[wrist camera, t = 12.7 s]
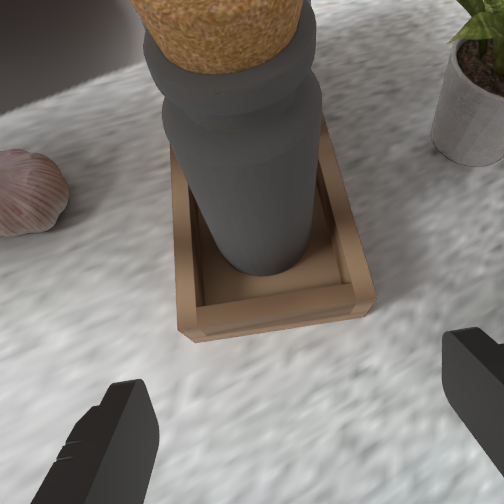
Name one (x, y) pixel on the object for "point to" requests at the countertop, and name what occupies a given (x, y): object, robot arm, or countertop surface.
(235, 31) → the bottle
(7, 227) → the garlic bulb
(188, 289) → the rack
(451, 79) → the house plant
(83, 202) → the countertop surface
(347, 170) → the countertop surface
